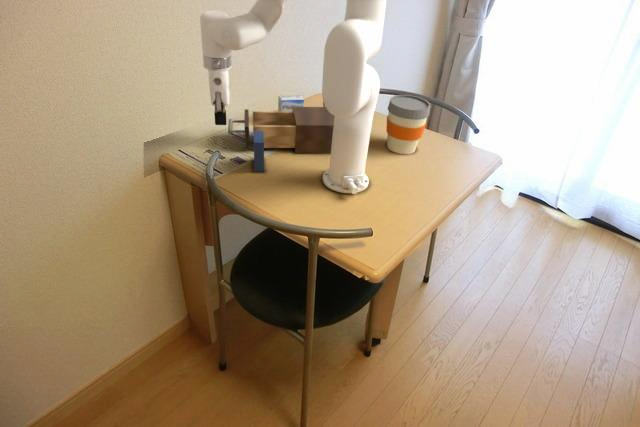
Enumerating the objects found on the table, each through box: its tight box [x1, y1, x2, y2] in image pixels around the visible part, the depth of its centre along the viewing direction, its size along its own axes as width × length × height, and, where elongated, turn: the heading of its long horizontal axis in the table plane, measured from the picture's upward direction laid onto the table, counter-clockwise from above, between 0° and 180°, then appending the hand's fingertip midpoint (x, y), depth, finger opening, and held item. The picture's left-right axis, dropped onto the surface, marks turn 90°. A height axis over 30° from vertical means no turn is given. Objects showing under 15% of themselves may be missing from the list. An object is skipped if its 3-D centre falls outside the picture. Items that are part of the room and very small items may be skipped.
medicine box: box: [277, 95, 305, 112], centre depth 148 cm, size 8×4×9 cm, turn 105°
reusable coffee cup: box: [386, 94, 431, 155], centre depth 136 cm, size 13×13×15 cm
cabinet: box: [292, 106, 335, 155], centre depth 136 cm, size 19×14×9 cm
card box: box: [253, 131, 265, 173], centre depth 122 cm, size 3×7×9 cm, turn 8°
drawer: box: [227, 108, 296, 151], centre depth 134 cm, size 22×12×7 cm, turn 98°
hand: (220, 123), depth 131 cm, fingers closed
